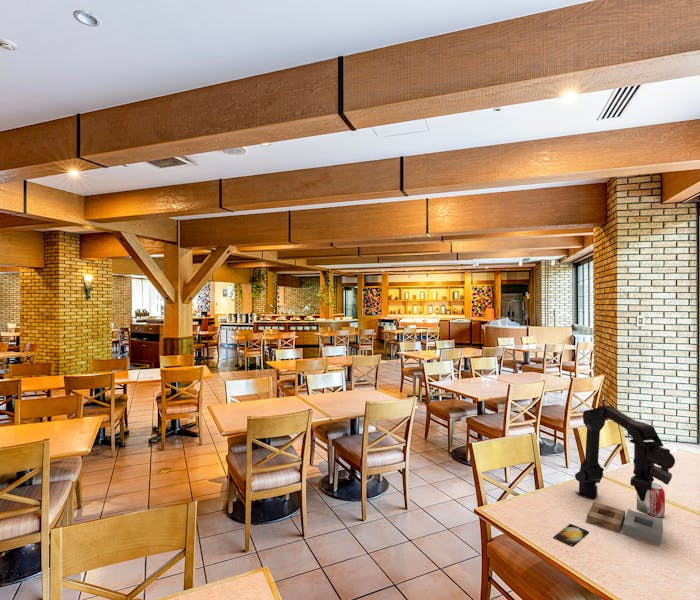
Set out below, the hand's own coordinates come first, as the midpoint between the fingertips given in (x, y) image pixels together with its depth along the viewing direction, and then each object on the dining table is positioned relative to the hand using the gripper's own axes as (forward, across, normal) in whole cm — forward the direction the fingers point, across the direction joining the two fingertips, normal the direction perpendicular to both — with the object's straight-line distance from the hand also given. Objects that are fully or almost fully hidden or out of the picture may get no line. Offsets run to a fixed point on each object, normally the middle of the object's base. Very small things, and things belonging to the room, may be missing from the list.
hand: (643, 498), depth 150 cm
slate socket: (+13, 0, 0) cm, 13 cm away
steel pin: (+4, 0, 0) cm, 4 cm away
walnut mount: (+13, 0, +12) cm, 17 cm away
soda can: (+13, +19, -2) cm, 23 cm away
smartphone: (+13, -21, +20) cm, 32 cm away
